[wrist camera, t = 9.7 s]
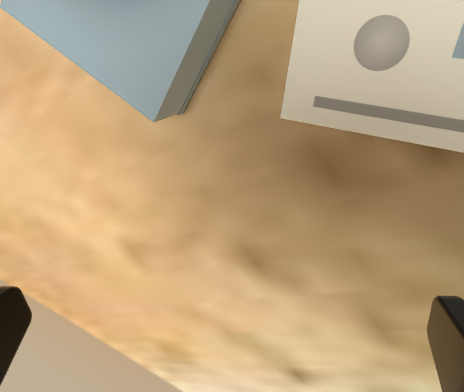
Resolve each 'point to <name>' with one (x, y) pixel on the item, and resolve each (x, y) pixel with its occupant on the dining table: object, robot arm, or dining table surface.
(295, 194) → the dining table surface
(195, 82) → the base brick
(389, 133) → the page
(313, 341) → the dining table surface
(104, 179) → the dining table surface
